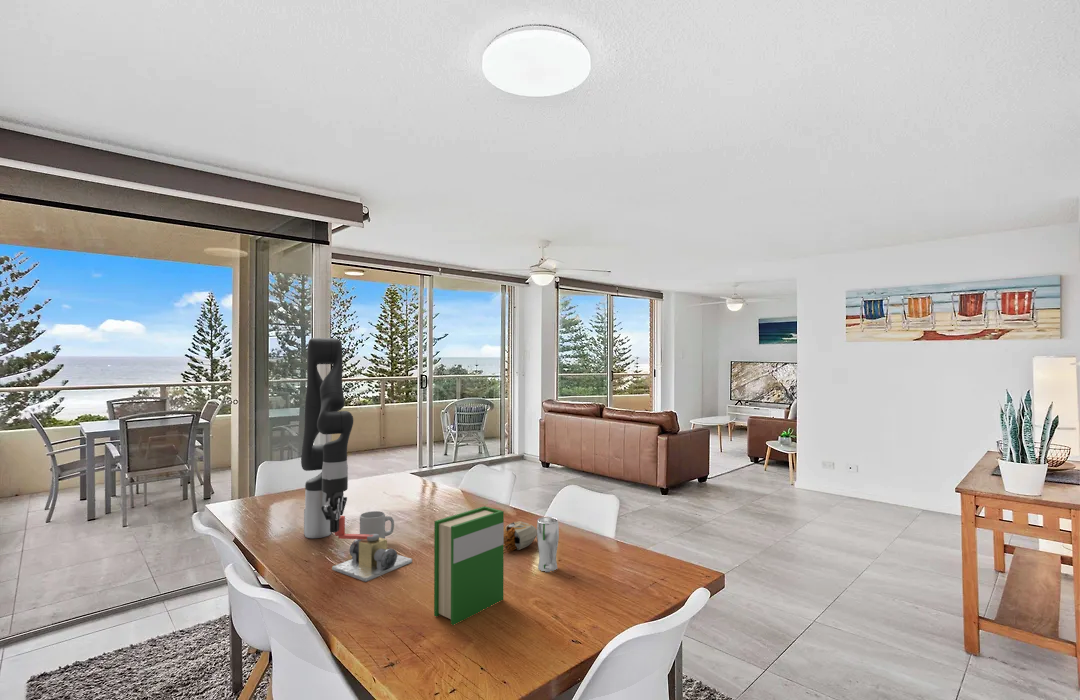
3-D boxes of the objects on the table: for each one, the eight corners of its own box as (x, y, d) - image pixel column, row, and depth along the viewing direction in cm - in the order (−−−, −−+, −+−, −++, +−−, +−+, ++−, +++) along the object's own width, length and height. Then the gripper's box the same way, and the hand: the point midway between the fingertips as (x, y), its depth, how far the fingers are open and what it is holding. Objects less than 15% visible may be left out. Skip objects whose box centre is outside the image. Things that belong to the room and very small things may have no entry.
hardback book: (453, 625, 128) (453, 527, 129) (434, 615, 133) (434, 521, 134) (503, 600, 142) (503, 511, 142) (484, 592, 147) (484, 506, 147)
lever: (380, 537, 167) (380, 516, 167) (376, 541, 164) (376, 520, 164) (337, 536, 169) (338, 515, 169) (332, 540, 165) (332, 518, 165)
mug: (364, 552, 177) (364, 519, 177) (356, 545, 184) (356, 513, 184) (398, 544, 184) (398, 513, 184) (389, 538, 191) (389, 508, 191)
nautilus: (509, 563, 169) (475, 555, 178) (548, 541, 186) (516, 534, 195) (507, 539, 169) (473, 532, 178) (546, 518, 186) (514, 513, 195)
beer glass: (561, 565, 166) (561, 518, 166) (555, 574, 159) (555, 524, 159) (540, 562, 168) (540, 515, 168) (533, 571, 161) (533, 522, 161)
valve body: (332, 569, 162) (332, 543, 162) (379, 551, 177) (379, 528, 177) (365, 581, 153) (365, 554, 154) (412, 562, 168) (412, 537, 169)
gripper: (333, 471, 170) (332, 525, 169) (312, 479, 157) (312, 538, 156) (355, 471, 170) (355, 525, 169) (337, 480, 156) (336, 538, 156)
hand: (334, 531), depth 163 cm, fingers closed
